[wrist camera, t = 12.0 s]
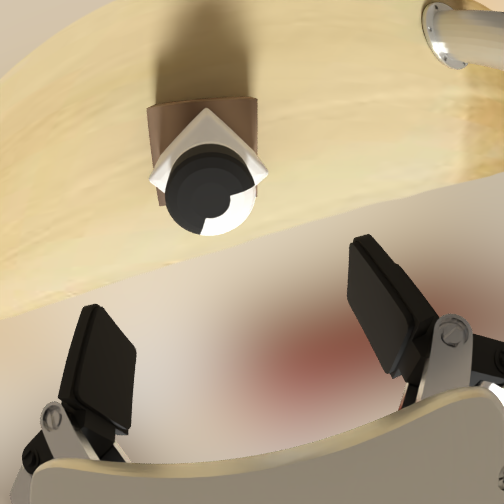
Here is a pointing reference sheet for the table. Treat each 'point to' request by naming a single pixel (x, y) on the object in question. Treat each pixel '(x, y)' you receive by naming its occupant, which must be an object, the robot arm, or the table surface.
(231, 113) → the walnut box
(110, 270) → the table surface
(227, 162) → the medicine bottle
